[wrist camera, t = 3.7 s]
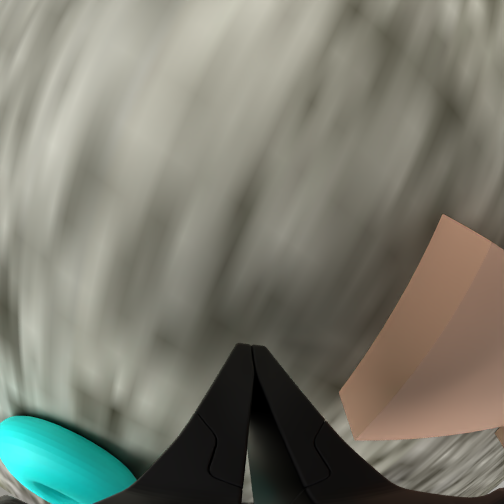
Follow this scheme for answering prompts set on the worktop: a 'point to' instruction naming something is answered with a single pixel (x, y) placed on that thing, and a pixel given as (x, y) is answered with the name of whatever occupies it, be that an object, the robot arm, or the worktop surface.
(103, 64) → the worktop surface
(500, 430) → the shelf
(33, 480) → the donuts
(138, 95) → the worktop surface
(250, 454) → the robot arm
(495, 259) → the tile
